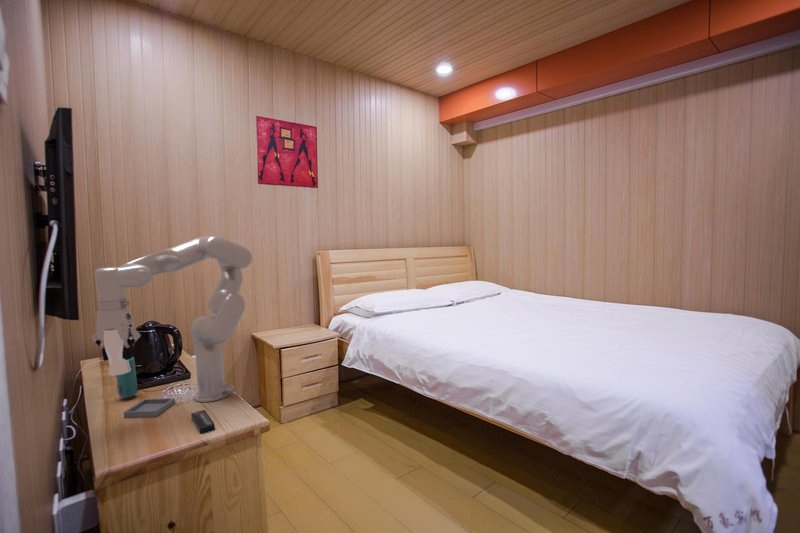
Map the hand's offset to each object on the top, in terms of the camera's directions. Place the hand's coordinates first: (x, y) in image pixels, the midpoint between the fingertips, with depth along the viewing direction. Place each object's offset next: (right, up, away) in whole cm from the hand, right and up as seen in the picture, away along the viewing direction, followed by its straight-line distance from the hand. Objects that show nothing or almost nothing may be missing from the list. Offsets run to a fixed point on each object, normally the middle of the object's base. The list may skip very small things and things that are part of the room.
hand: (118, 358), depth 138 cm
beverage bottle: (-14, -22, +27) cm, 37 cm away
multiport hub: (+27, -23, +2) cm, 35 cm away
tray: (+2, -22, +15) cm, 27 cm away
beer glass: (0, -5, 0) cm, 5 cm away
